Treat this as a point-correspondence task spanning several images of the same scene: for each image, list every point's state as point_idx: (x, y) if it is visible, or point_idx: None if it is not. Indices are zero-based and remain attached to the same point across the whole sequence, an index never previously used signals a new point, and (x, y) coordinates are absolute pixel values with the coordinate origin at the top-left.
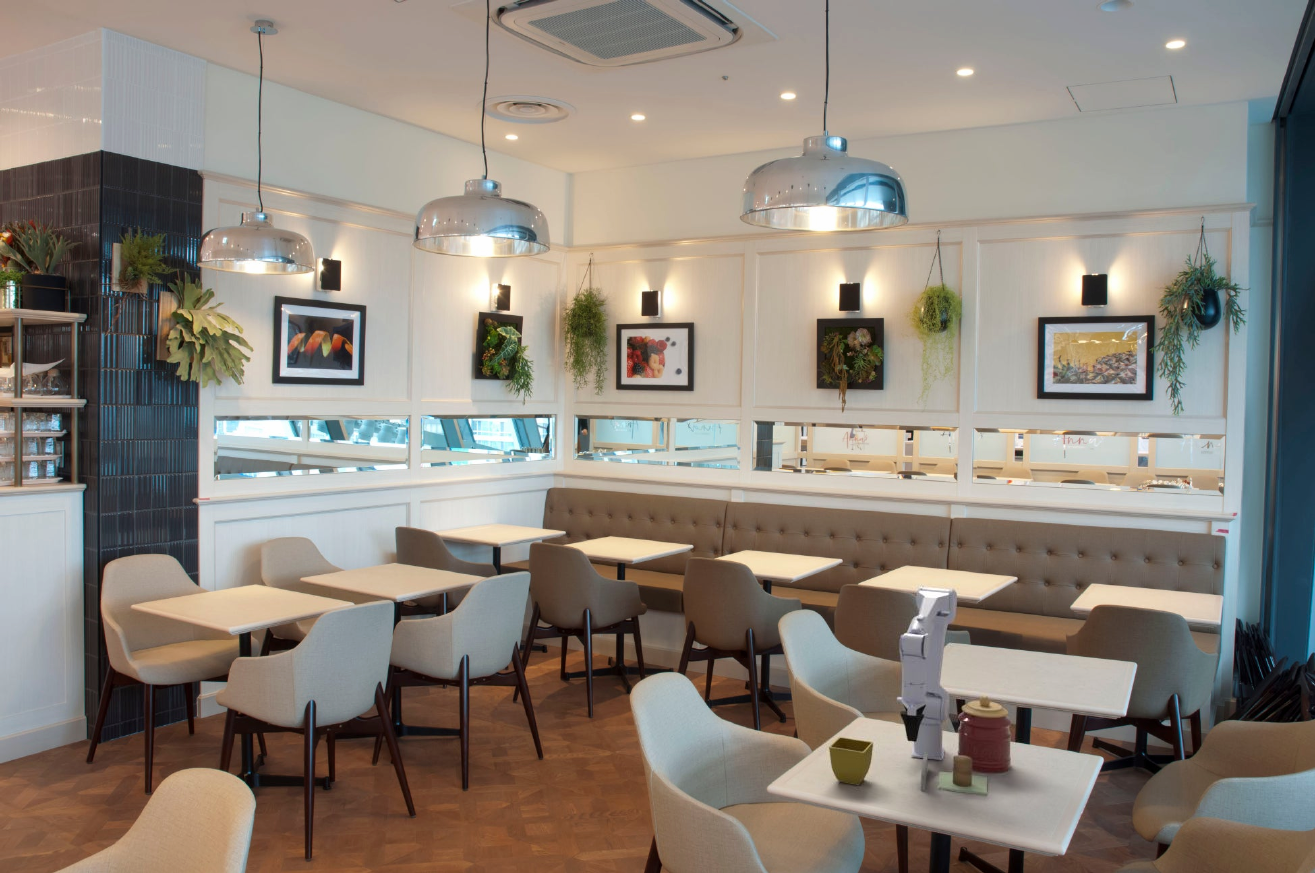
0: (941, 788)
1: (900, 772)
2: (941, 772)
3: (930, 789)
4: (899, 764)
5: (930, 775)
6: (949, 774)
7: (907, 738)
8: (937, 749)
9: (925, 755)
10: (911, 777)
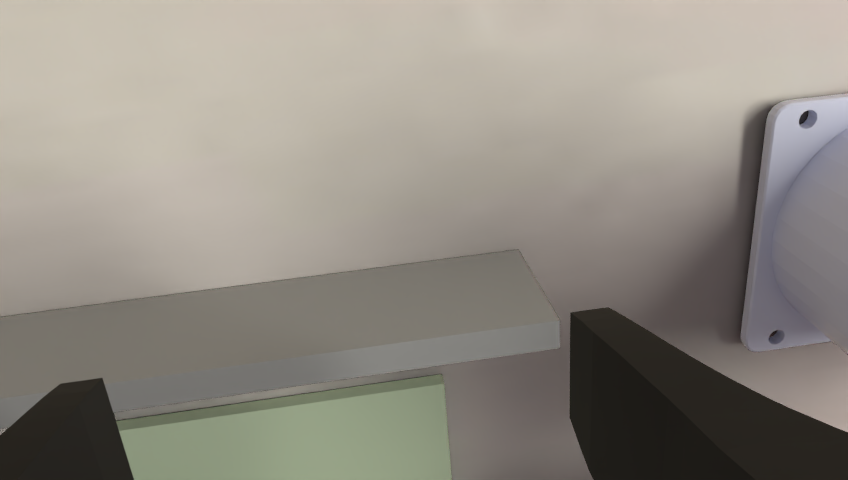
0: None
1: (313, 77)
2: (426, 395)
3: None
4: (537, 27)
5: None
6: (405, 450)
7: (37, 404)
8: (829, 338)
9: (470, 344)
10: (229, 194)
